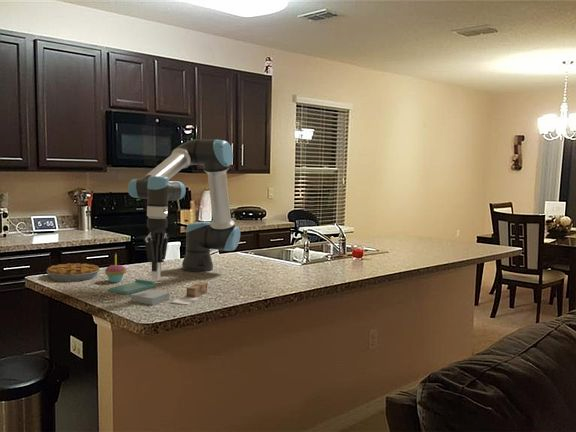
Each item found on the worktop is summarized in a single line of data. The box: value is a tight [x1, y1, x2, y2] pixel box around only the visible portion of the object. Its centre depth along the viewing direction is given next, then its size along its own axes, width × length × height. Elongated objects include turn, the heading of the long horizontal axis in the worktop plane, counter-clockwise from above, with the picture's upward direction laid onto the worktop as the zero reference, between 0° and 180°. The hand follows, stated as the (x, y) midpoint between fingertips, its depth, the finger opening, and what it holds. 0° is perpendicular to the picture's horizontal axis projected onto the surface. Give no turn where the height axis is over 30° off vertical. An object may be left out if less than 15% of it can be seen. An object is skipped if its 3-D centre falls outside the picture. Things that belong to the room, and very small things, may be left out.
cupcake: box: [104, 254, 127, 283], centre depth 226 cm, size 9×8×12 cm
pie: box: [46, 262, 100, 282], centre depth 232 cm, size 22×22×5 cm
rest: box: [109, 278, 155, 295], centre depth 214 cm, size 16×9×2 cm, turn 156°
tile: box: [130, 289, 171, 306], centre depth 198 cm, size 3×10×10 cm
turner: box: [170, 281, 209, 306], centre depth 204 cm, size 22×7×4 cm, turn 165°
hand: (156, 279), depth 200 cm, fingers closed
